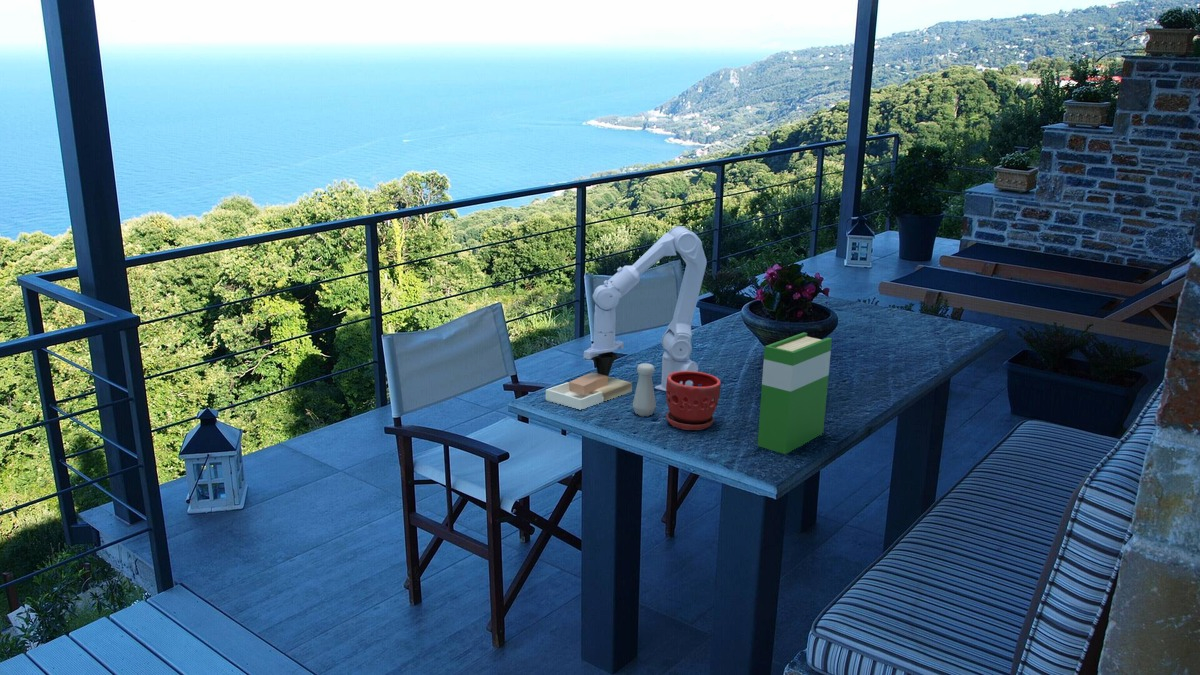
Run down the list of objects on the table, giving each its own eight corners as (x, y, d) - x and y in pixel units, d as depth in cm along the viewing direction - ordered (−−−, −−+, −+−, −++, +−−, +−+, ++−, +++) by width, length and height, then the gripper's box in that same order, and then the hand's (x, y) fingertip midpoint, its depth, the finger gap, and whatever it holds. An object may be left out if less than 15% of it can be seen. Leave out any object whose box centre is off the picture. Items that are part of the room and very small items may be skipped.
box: (603, 402, 245) (603, 391, 244) (580, 411, 238) (580, 399, 237) (568, 392, 252) (568, 381, 251) (545, 400, 245) (545, 389, 244)
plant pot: (680, 436, 222) (682, 388, 219) (655, 418, 234) (657, 372, 231) (728, 430, 227) (731, 383, 224) (701, 412, 239) (703, 367, 236)
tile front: (596, 389, 247) (595, 380, 246) (583, 395, 243) (583, 386, 242) (581, 385, 250) (581, 376, 249) (569, 390, 246) (569, 382, 245)
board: (631, 391, 254) (632, 382, 253) (603, 402, 245) (604, 393, 244) (597, 382, 261) (597, 373, 260) (569, 392, 252) (569, 383, 251)
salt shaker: (639, 419, 233) (641, 369, 230) (628, 412, 238) (629, 362, 235) (659, 415, 236) (661, 366, 232) (648, 408, 241) (650, 360, 237)
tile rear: (607, 385, 251) (607, 376, 250) (595, 389, 247) (595, 380, 246) (593, 381, 254) (593, 372, 253) (581, 385, 250) (581, 376, 249)
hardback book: (795, 426, 231) (803, 332, 224) (823, 434, 226) (831, 338, 220) (757, 445, 218) (764, 346, 211) (785, 454, 213) (793, 352, 207)
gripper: (609, 323, 257) (608, 370, 261) (575, 332, 246) (574, 382, 250) (630, 327, 253) (628, 375, 256) (596, 337, 242) (594, 387, 245)
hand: (603, 379), depth 253 cm, fingers closed
